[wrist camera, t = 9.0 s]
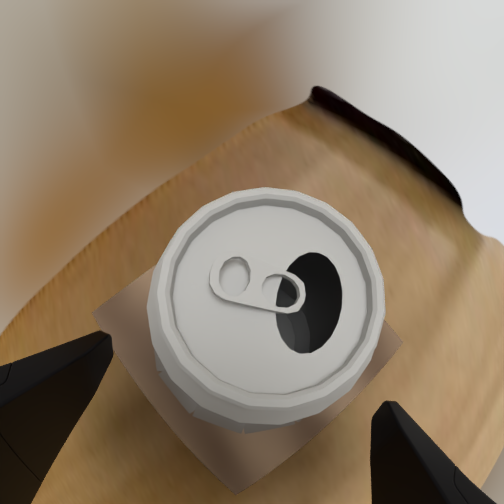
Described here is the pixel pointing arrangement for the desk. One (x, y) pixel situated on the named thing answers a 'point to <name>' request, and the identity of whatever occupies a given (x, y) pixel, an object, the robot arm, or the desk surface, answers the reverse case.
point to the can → (266, 306)
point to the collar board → (205, 435)
